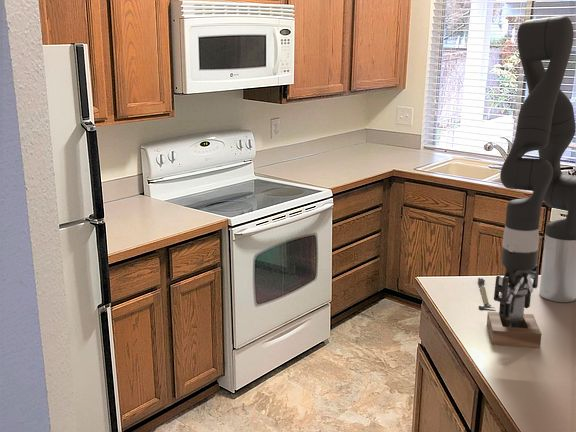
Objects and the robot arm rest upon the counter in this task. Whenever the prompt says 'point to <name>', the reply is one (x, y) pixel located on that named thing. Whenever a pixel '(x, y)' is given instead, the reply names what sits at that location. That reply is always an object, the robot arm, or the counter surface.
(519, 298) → the pin
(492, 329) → the socket block
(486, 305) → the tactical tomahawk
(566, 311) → the counter surface
